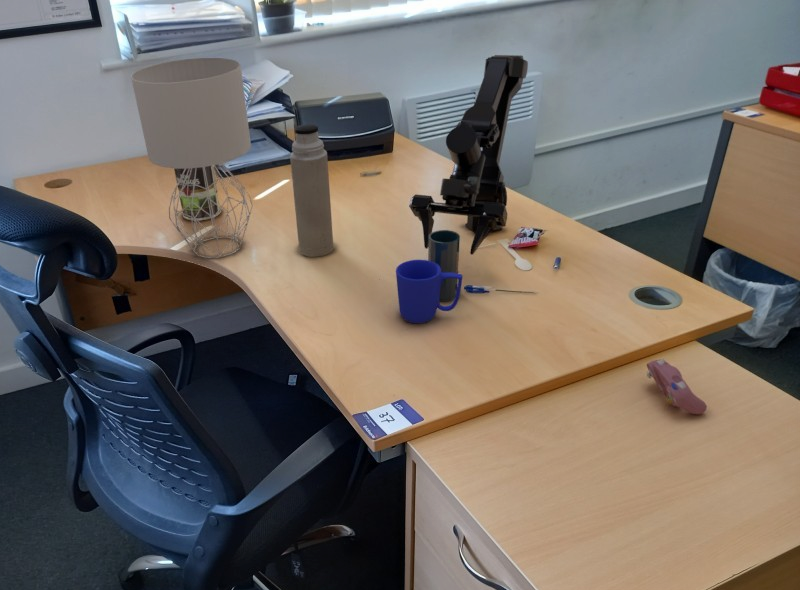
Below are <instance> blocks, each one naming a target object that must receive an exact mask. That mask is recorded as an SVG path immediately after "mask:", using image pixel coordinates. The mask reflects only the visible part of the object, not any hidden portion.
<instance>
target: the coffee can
mask: <svg viewBox="0 0 800 590" xmlns="http://www.w3.org/2000/svg"><path fill="white" fill-rule="evenodd" d="M213 167H214V165H213ZM203 168H204V167H199V168H197V169H196V177H195V168H192V171H191V168H190V170H189V172H188V169H189V168H186V170H185V172H184V174H183V177H182V179H181V181H180V183H179V185H178V187H177V191H178V194H179V192H180V191H181V189H182V186H183V183H184V181H185V178H186V175H187V172H188V175H187V178H186V181H185V184H186V183H187V182H188V178H189V175H190V171H191V175H190V179H189V182H191V183H194V177H195V184H196V185H199V186H201V187H204V188H206V187H207V182H208V187H209V186H210V185H211V184H212V183H214V182H215V181H216V180H217V175H216V173H215V171H216V170H215V171H214V170H213V168H212V166H207V167H205V171H206V177H207V182H206V187H205V181H206V177H205V180H204V174H205V172H204V174H203ZM214 168H215V167H214ZM173 170H174V175H175V181H176V184H177V183H178V181H179V179H180V177H181V175H182V173H183V171H184V169H178V168H173ZM191 183H189V184H188V183H187V184H188V199H187V185H186V186H185V184H184V186H185V187H184V186H183V187H184V189H183V190H182V192H181V195H180V194H179V195H180V198H179V201H180V206H181V210H182V209H184V208H185V207H186V206H187V205H189V204H190V203H191V202H192V195H193V186H194V184H191ZM196 185H195V186H194V195H193V203H195V204H196V205H197V206H199V207H200V208H201V207H202V205H203V203H204V202H205V200H206V199H207V193H208V189H207V193H206V189H204V188H201V187H199V186H196ZM209 193H210V198H211V200H212V201H213V202H215V203H216V204H217V205H219V206H220V207H221V202H220V196H219V190H218V184H217V182H215V183H214V184H213V185H212V186H210V187H209ZM209 193H208V198H209ZM179 195H178V196H179ZM188 200H189V204H188ZM212 201H211V203H212V209H213V214H214V215H215V214H216V213H217V211H218V210H219V208H220V207H218V206H217V205H216V204H215V203H213V202H212ZM209 204H210V200H209ZM209 204H208V199H207V200H206V202H205V204H204V205H203V207H202V209H203V210H204V211H206V212H207V213H209V214H210V210H211V215H212V209H211V204H210V209H209ZM196 205H194V204H193V211H192V212H193V214H194V217H195V216H196V215H197V213H198V211H199V210H200V208H198V207H197V206H196ZM190 207H191V209H192V204H190ZM190 207H189V206H188V207H187V208H185V209H184V210H183V211H182V213H184V214H187V215H189V216H191V209H190ZM203 210H200V212H199V213H198V215H197V216H196V218H195V219H196V220H198V221H199V222H200V221H201V222H202V221H208V220H211V216H210V215H208V214H207V213H205V212H204V211H203ZM221 213H222V209H220V210H219V212H218V213H217V215H216V216H215V217H214V218H216V217H218V216H219V215H220V214H221ZM184 214H182V217H183V219H185V220H187V221H191V222H192V219H193V222H194V218H192V219H191V217H189V216H187V215H184ZM193 214H192V217H193ZM212 216H213V215H212Z"/></svg>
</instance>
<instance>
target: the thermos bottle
mask: <svg viewBox="0 0 800 590" xmlns="http://www.w3.org/2000/svg"><path fill="white" fill-rule="evenodd" d="M294 133H295V141H293V142H292V145H291V146H292V147H291V151H292V152H290V154H289V160H290V161H289V162H290V170H291V180H292V181H291V182H292V190H293V199H294V200H293V203H294V213H295V221H296V231H297V232H296V233H297V242H298V250H299V251H298V252H299V253H300V254H301V255H303V256H304V257H310V258H311V257H312V258H315V257H317V258H318V257H323V256H326V255H329V254H330V253H332V252H333V250H334V234H333V222H332V221H333V220H332V203H331V190H330V175H329V161H328V160H329V159H328V152H327V150H326V149H324V147H325V144H324V142H323V140H322V139H320V138H319V137H320V136H319V127H318V125H316V124H311V123H309V124H300V125H297V126H295V127H294Z"/></svg>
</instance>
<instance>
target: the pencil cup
mask: <svg viewBox="0 0 800 590" xmlns="http://www.w3.org/2000/svg"><path fill="white" fill-rule="evenodd" d="M460 240H461V237H460V234H459V233H458V232H457V231H453V230H449V229H439V230H435V231H432V233H431V234H430V235H429V241H428V249H427V261H431V262H434V263H436V264H437V265H439V266H440V268H441V272H442V273H458V274H459V263H460V262H459V261H460V242H461V241H460ZM457 287H458V279H455V278H445V279H443V281H442V283H441V287H440V296H439V303H440V302H442V303H443V302H444V303H445V302H449V301H450V302H451V301H454V299H455V297H456V293H457Z"/></svg>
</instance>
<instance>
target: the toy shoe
mask: <svg viewBox="0 0 800 590" xmlns="http://www.w3.org/2000/svg"><path fill="white" fill-rule="evenodd" d="M646 367H647V370H648V371H646V373H645V374H646V377H647V378H649V379H652V378H653V380H654V382H655V384H656V386H657V387H658V389H659V390H660V392H661V393H662V395H666V397H667V399H666V401H667V403H668V404H671V406H673V407H674V408H675V407H679V408H680V409H681V410H683V411H685V412H687V413H689V414H692V415H703V414H704V413H705V412H706V411H707V408H708V406H707V403H706V402H705V401H704V400H703V399H701V398H700V397H698V396H697V395H696V394H694V392H692V390H691V388H690V387H689V384H687V382H686V380H684V378H683V375H682V373H681V371H680V370H679V369H678V368H676V367H675V366H673V365H671V364H670V363H669V362H667V361H666V360H665V359H664V358H661V359H655V360H652V361H650V362H647V363H646Z"/></svg>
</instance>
